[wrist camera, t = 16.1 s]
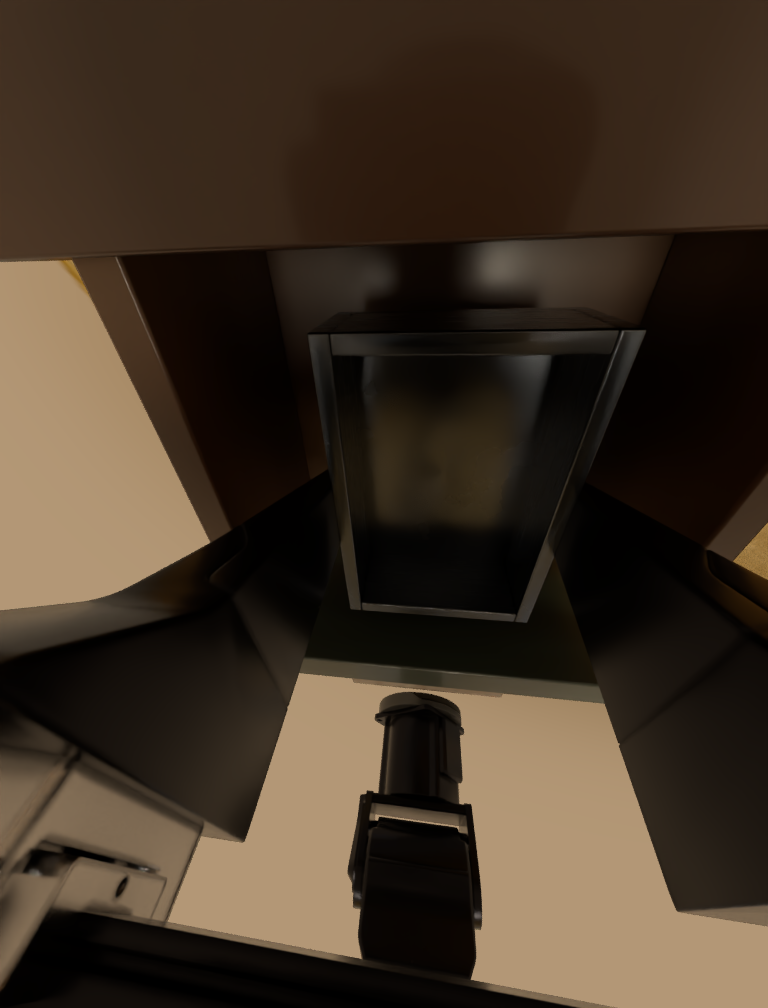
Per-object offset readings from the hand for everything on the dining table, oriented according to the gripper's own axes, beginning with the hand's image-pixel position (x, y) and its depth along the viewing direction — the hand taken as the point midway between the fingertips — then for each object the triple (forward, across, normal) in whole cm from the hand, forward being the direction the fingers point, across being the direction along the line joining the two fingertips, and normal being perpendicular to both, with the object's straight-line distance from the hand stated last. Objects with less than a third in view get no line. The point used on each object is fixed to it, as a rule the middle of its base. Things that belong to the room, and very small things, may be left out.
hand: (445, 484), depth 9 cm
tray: (+1, 0, 0) cm, 1 cm away
